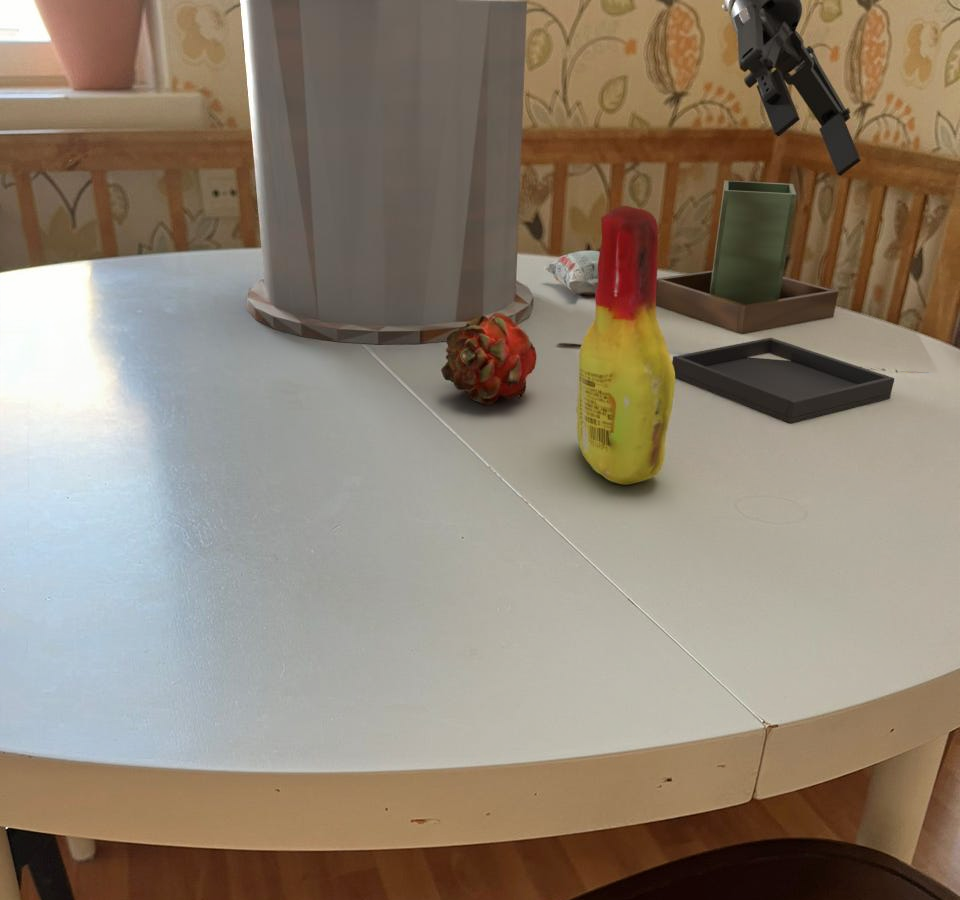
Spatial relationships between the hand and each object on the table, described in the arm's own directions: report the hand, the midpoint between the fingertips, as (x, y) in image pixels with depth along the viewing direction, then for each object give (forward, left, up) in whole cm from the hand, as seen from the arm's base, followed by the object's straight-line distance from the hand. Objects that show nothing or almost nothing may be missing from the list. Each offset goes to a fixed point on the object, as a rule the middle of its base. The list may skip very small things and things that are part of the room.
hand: (819, 148), depth 116 cm
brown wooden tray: (+5, +3, -19) cm, 20 cm away
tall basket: (+5, +3, -19) cm, 19 cm away
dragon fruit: (-5, +47, -19) cm, 51 cm away
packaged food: (+23, +13, -19) cm, 33 cm away
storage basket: (+30, +38, -19) cm, 52 cm away
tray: (-17, +20, -19) cm, 32 cm away
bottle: (-25, +48, -19) cm, 57 cm away
